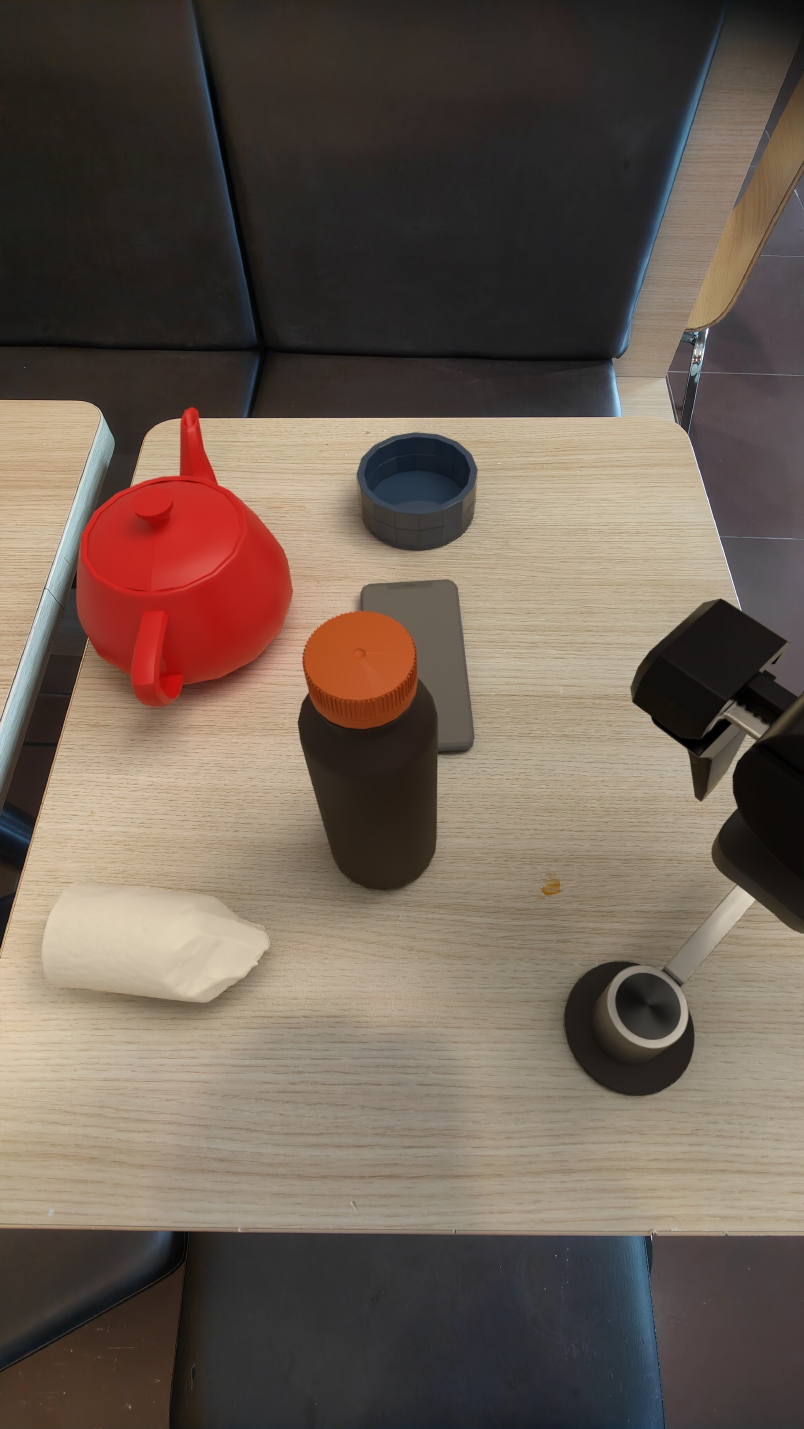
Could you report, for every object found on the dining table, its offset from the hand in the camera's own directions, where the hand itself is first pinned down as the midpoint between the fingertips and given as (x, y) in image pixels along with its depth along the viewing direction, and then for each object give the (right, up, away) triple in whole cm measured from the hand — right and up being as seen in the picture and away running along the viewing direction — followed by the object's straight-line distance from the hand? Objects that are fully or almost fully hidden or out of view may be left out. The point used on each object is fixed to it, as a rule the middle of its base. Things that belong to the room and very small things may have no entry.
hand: (782, 854), depth 38 cm
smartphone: (-18, +10, +19) cm, 28 cm away
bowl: (-17, +24, +28) cm, 41 cm away
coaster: (-6, -11, +5) cm, 13 cm away
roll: (-32, -8, +8) cm, 34 cm away
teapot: (-34, +15, +23) cm, 44 cm away
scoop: (-2, -7, +7) cm, 10 cm away
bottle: (-20, -1, +12) cm, 23 cm away
